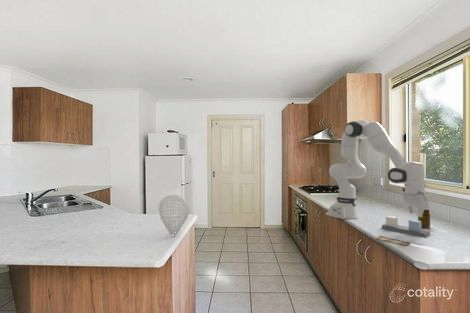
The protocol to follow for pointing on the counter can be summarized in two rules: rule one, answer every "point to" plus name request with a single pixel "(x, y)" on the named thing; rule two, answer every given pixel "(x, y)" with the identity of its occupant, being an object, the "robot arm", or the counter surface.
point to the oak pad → (393, 241)
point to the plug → (392, 221)
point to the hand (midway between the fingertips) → (415, 214)
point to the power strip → (407, 230)
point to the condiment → (425, 219)
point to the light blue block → (414, 225)
